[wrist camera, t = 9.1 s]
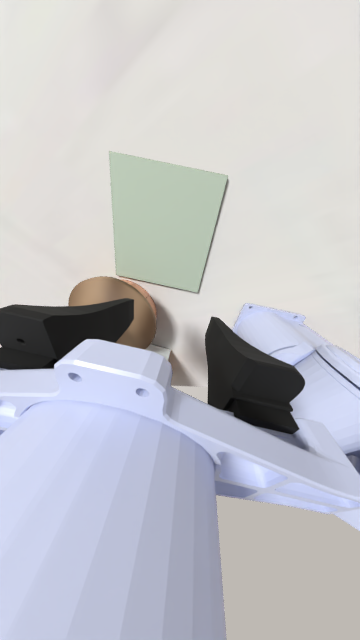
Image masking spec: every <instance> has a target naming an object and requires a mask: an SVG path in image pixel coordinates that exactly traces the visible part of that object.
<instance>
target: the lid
mask: <svg viewBox="0 0 360 640" xmlns="http://www.w3.org/2000/svg"><path fill="white" fill-rule="evenodd" d="M123 298H129V299H134V320H133V321H132V323H131V325H130V326H129V328H128V329H127V330H126V331H125V332H124V334H123V335H122V336H121V337H120V338H119V339H118V340H117V342H116V343H117V344H122V345H126V346H130V347H135V348H139V349H144V350H145V349H146V348H148V346H149V345H150V344H151V342H152V340H153V338H154V336H155V333H156V318H155V314H154V311H153V309H152V307H151V305H150V303H149V302H148V301H147V299H146V298H145V297H144V296H143V295H142V294H141V293H140V292H139V291H138V290H137V289H136V288H134V287H133V286H131V285H130V284H128V283H126V282H124V281H122V280H119V279H116V278H113V277H94V278H91V279H87V280H84V281H82V282H80V283H79V284H78V285H76V286H75V288H74V289H73V290H72V292H71V294H70V297H69V306H83V305H92V304H98V303H103V302H109V301H113V300H118V299H123Z"/></svg>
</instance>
